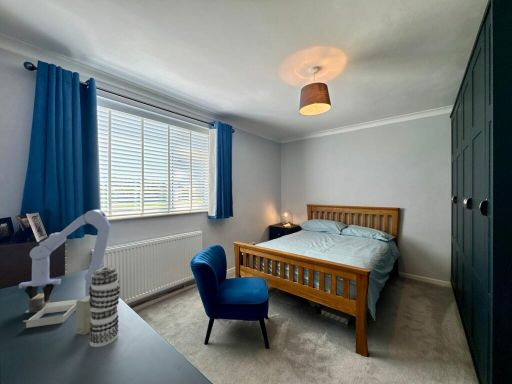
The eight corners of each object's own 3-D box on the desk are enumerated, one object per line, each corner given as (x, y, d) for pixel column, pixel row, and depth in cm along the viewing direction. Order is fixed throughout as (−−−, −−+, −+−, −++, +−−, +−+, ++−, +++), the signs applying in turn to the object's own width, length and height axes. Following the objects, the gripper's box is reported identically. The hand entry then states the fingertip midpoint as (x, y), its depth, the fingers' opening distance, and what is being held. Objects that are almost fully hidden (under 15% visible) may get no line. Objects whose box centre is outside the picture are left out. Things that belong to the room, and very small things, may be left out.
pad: (54, 303, 103) (54, 302, 103) (44, 310, 97) (44, 309, 97) (36, 305, 101) (36, 304, 101) (25, 313, 94) (25, 312, 95)
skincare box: (84, 335, 80) (85, 302, 80) (74, 333, 80) (75, 300, 81) (100, 325, 86) (100, 294, 86) (91, 324, 87) (91, 293, 87)
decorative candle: (88, 337, 79) (88, 268, 79) (118, 327, 84) (118, 263, 85) (87, 351, 71) (88, 275, 72) (120, 340, 77) (121, 269, 77)
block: (49, 303, 102) (49, 292, 102) (40, 310, 96) (40, 299, 96) (39, 304, 101) (39, 293, 101) (28, 312, 94) (28, 300, 95)
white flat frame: (78, 307, 100) (78, 299, 100) (60, 325, 86) (60, 316, 86) (46, 311, 96) (46, 302, 96) (22, 330, 82) (22, 321, 82)
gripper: (13, 276, 93) (13, 308, 93) (55, 273, 97) (54, 303, 97) (25, 271, 100) (25, 300, 100) (63, 268, 104) (63, 296, 104)
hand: (40, 301), depth 99 cm, fingers closed on block, 4 cm apart
